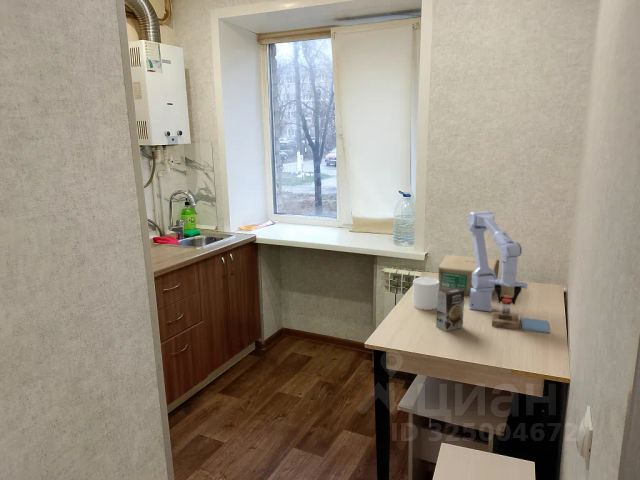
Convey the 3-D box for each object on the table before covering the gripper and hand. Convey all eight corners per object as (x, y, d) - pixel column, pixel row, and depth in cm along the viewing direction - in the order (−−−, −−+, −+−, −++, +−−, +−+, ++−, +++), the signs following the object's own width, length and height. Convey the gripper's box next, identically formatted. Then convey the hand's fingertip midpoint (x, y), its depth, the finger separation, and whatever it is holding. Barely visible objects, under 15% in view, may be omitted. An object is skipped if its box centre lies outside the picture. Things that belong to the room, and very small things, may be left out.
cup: (433, 311, 208) (434, 286, 205) (408, 307, 214) (409, 282, 211) (441, 303, 217) (442, 279, 214) (417, 299, 223) (418, 275, 220)
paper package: (436, 292, 232) (437, 265, 229) (445, 277, 255) (446, 253, 252) (493, 299, 221) (495, 271, 218) (497, 283, 244) (499, 258, 240)
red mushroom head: (499, 314, 192) (500, 298, 190) (499, 310, 196) (500, 294, 195) (512, 315, 190) (513, 299, 188) (511, 311, 194) (513, 295, 193)
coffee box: (446, 332, 187) (448, 294, 183) (435, 326, 193) (437, 289, 189) (463, 327, 191) (465, 290, 187) (452, 321, 197) (454, 285, 193)
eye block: (491, 326, 191) (492, 320, 191) (492, 317, 201) (492, 311, 200) (518, 329, 188) (519, 323, 187) (517, 319, 197) (518, 314, 196)
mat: (522, 329, 187) (522, 328, 187) (521, 318, 198) (521, 317, 198) (549, 333, 184) (549, 332, 184) (546, 321, 195) (547, 320, 195)
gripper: (489, 272, 188) (487, 304, 191) (528, 276, 183) (525, 308, 186) (490, 268, 194) (488, 298, 197) (528, 271, 189) (525, 302, 192)
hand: (506, 302), depth 192 cm, fingers closed on red mushroom head, 5 cm apart
